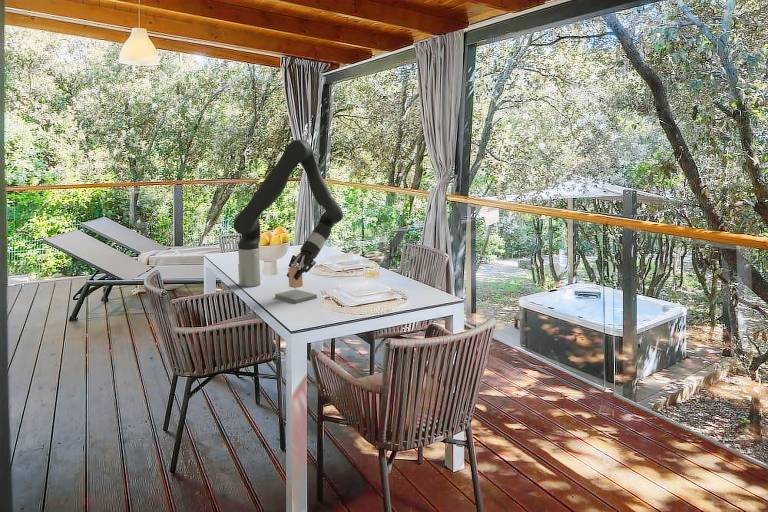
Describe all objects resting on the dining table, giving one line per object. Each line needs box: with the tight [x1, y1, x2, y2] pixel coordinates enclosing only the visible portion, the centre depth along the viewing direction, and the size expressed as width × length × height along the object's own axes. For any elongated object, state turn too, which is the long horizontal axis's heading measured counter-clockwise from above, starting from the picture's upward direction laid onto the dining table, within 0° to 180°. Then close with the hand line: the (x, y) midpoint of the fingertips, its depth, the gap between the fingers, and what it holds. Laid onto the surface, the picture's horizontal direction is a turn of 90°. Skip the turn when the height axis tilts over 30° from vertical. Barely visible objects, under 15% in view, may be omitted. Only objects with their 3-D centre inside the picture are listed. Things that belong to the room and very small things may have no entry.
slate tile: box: [274, 288, 318, 304], centre depth 229 cm, size 14×11×2 cm
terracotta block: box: [288, 266, 304, 289], centre depth 228 cm, size 4×4×8 cm
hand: (291, 277), depth 226 cm, fingers closed on terracotta block, 4 cm apart
